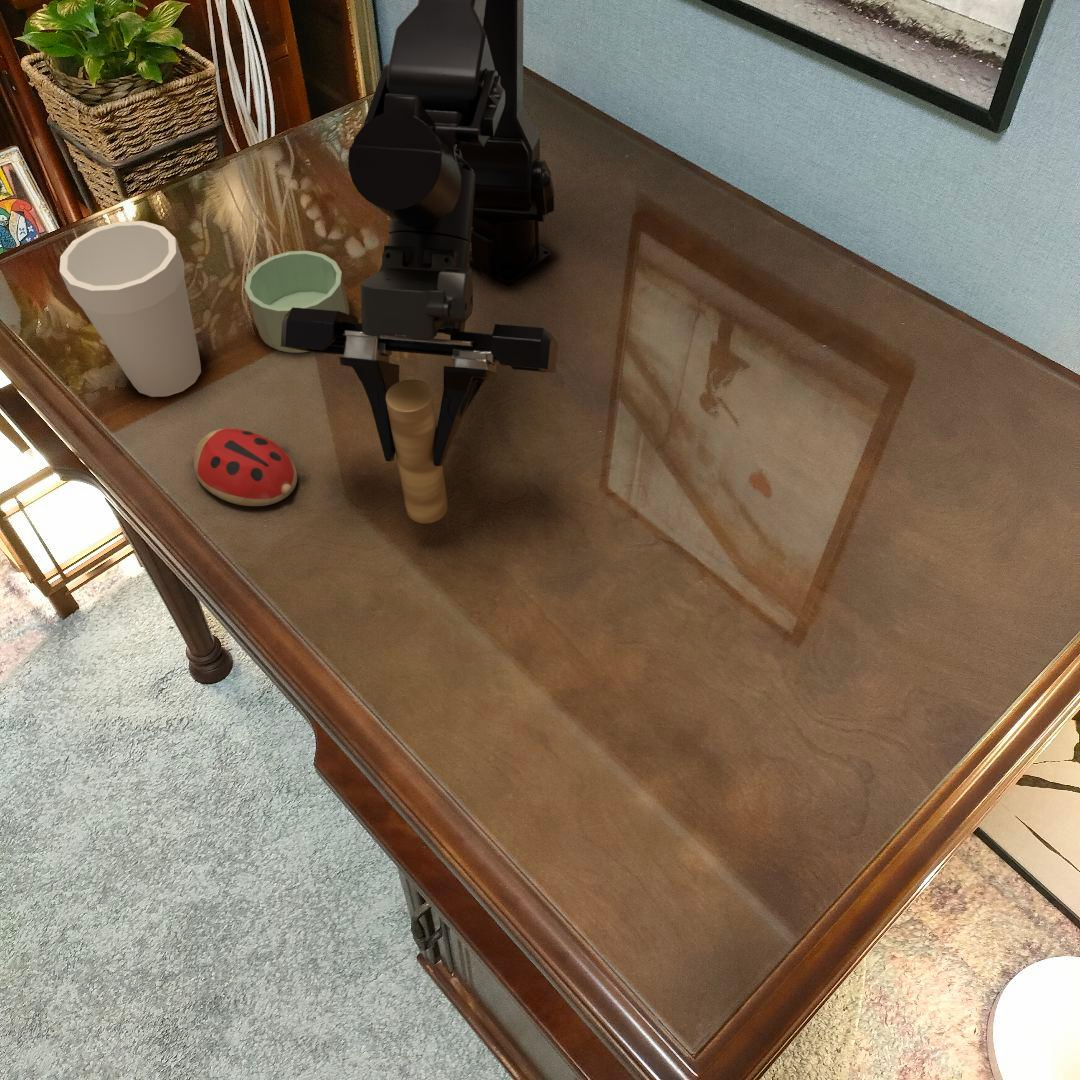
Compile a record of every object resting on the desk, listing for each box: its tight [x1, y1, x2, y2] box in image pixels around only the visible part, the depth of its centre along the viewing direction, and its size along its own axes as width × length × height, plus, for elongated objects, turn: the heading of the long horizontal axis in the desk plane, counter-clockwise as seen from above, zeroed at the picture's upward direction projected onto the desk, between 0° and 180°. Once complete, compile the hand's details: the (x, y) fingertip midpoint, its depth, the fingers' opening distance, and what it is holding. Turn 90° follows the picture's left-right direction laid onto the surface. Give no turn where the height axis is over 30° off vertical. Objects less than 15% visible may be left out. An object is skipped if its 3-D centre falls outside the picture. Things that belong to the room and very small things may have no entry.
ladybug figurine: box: [193, 428, 298, 507], centre depth 84 cm, size 7×10×4 cm
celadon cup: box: [244, 250, 351, 354], centre depth 96 cm, size 9×9×5 cm
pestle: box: [386, 379, 449, 524], centre depth 74 cm, size 3×3×12 cm
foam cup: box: [59, 220, 202, 398], centre depth 89 cm, size 10×9×13 cm
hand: (413, 463), depth 73 cm, fingers closed on pestle, 3 cm apart
